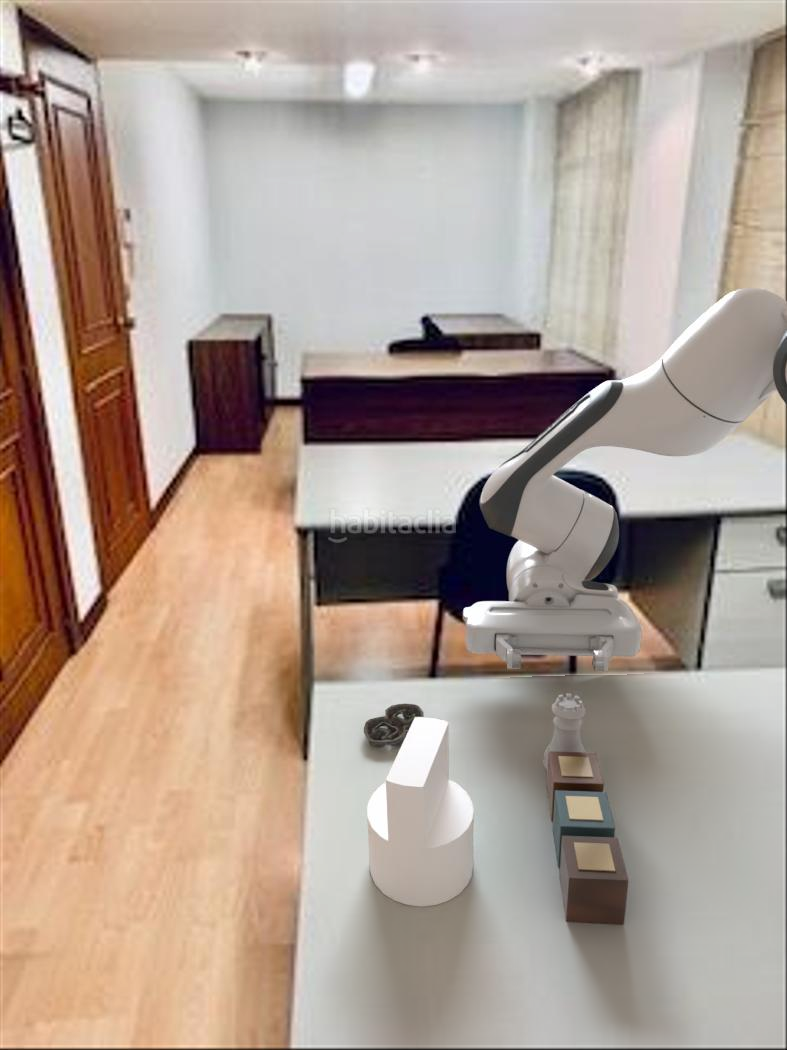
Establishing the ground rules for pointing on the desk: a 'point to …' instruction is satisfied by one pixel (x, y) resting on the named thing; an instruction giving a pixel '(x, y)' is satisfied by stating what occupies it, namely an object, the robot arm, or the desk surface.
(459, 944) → the desk surface
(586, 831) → the block middle
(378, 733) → the corroded twin loop
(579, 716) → the rook chess piece
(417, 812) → the cylinder with rectangular tab
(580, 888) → the block
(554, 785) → the block
